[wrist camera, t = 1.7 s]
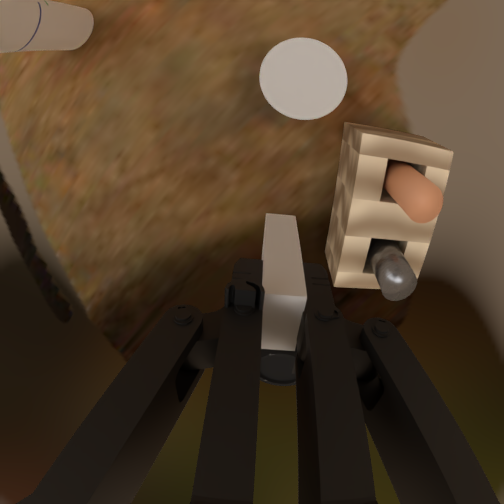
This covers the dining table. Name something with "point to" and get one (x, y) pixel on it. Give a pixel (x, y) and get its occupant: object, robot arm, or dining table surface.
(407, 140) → the birch block
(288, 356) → the coffee cup
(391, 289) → the peg steel
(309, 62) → the cup
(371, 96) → the dining table surface
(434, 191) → the peg terracotta
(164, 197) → the dining table surface
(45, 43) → the cylindrical container
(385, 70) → the dining table surface
